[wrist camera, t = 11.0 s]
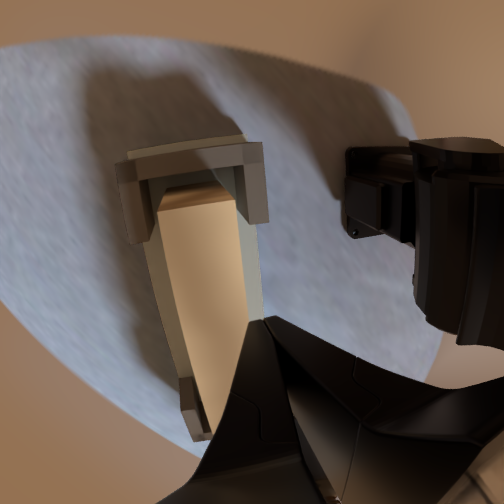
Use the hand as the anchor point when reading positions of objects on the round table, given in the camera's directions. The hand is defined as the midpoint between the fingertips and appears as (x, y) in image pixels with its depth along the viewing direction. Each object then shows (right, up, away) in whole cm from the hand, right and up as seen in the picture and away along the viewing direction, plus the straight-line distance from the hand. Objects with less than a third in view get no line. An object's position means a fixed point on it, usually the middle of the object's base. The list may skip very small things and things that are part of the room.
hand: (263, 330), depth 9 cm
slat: (-3, -1, +11) cm, 12 cm away
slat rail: (-3, -1, +12) cm, 13 cm away
